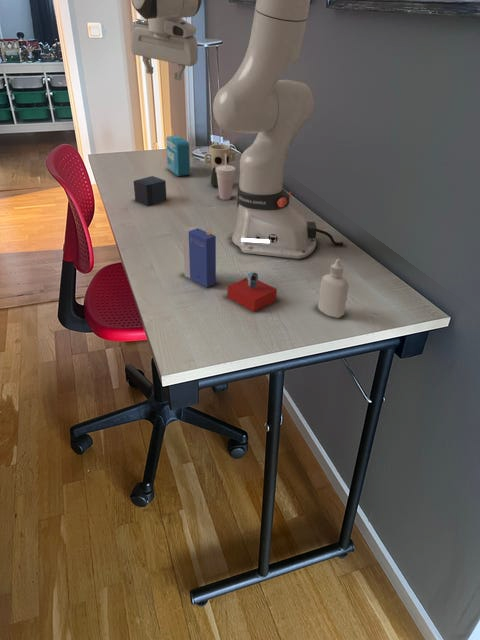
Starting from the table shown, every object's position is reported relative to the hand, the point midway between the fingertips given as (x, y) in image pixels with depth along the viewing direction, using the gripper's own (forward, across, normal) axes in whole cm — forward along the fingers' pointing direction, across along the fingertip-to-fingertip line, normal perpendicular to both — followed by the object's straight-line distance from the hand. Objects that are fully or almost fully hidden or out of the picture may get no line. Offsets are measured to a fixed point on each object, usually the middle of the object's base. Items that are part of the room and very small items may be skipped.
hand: (163, 76), depth 151 cm
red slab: (+23, +53, -62) cm, 85 cm away
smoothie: (+32, +24, -4) cm, 40 cm away
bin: (+33, +4, -16) cm, 37 cm away
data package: (+36, -1, +15) cm, 40 cm away
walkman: (+25, +39, -58) cm, 75 cm away
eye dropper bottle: (+21, +70, -61) cm, 95 cm away
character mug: (+34, +18, +7) cm, 39 cm away
